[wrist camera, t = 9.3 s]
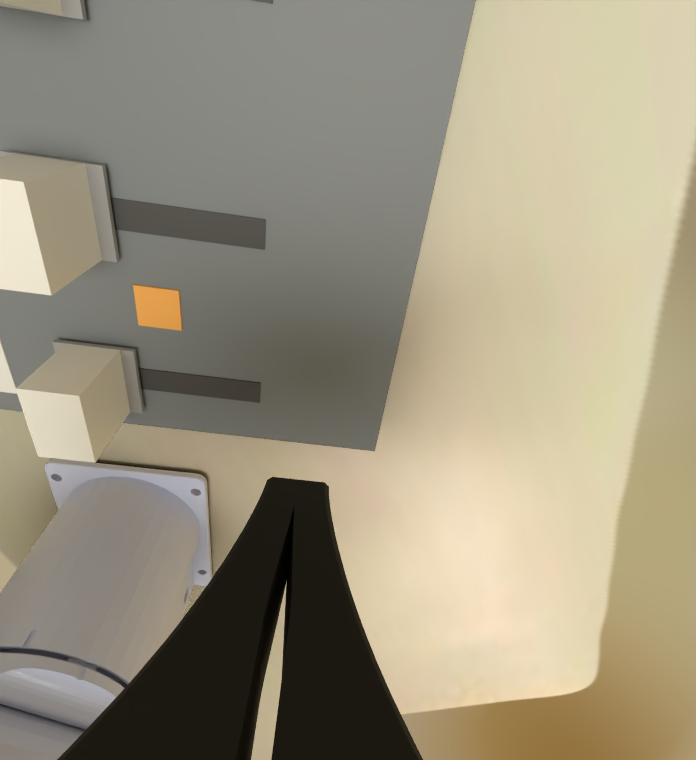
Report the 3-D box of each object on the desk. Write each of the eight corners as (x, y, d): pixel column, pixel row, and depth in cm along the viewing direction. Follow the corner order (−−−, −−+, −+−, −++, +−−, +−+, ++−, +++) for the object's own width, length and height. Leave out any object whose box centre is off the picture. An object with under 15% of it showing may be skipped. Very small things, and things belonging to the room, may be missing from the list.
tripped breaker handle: (119, 260, 15) (69, 297, 13) (28, 248, 15) (-42, 283, 13) (105, 164, 14) (44, 184, 11) (3, 149, 14) (-84, 166, 11)
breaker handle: (144, 410, 19) (109, 464, 16) (71, 402, 19) (23, 455, 16) (135, 349, 17) (95, 397, 15) (54, 339, 17) (-1, 386, 14)
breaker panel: (373, 429, 22) (374, 452, 20) (-18, 384, 20) (-44, 405, 19) (487, -103, 12) (505, -128, 10) (-259, -244, 11) (-347, -291, 9)
